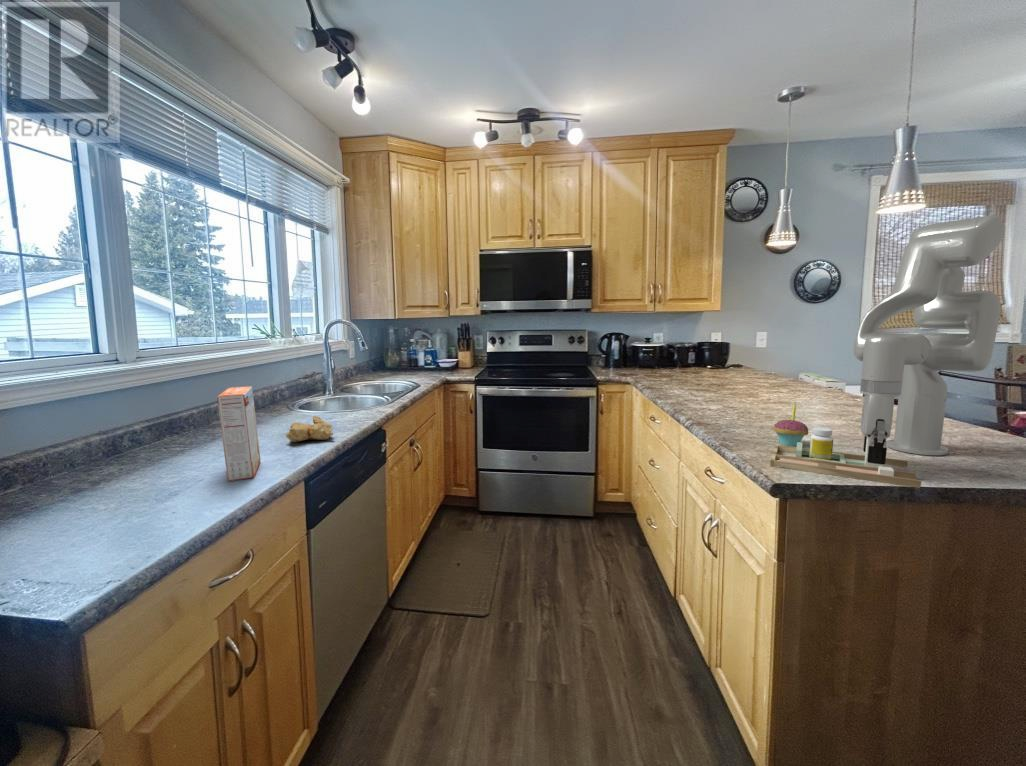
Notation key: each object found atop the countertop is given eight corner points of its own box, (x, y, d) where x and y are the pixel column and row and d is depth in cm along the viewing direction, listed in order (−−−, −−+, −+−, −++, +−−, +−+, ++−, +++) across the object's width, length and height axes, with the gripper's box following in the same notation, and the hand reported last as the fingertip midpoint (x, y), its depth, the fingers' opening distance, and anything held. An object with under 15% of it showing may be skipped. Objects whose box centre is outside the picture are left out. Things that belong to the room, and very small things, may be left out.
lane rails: (774, 449, 123) (775, 444, 123) (907, 466, 108) (907, 460, 108) (770, 466, 110) (770, 460, 110) (920, 487, 95) (921, 481, 94)
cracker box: (235, 465, 117) (227, 387, 115) (261, 462, 120) (253, 385, 117) (225, 482, 105) (215, 395, 102) (254, 478, 107) (245, 393, 104)
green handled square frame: (796, 452, 120) (798, 427, 119) (878, 463, 110) (881, 435, 109) (795, 461, 112) (797, 434, 112) (883, 473, 103) (886, 444, 102)
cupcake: (778, 438, 135) (781, 399, 133) (811, 444, 128) (814, 403, 127) (768, 444, 129) (771, 403, 127) (802, 450, 123) (805, 407, 121)
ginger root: (328, 441, 135) (320, 416, 134) (277, 455, 134) (269, 430, 134) (346, 431, 150) (339, 408, 149) (300, 443, 150) (293, 420, 149)
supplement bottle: (835, 464, 110) (838, 431, 109) (813, 463, 111) (816, 430, 110) (825, 458, 115) (828, 427, 114) (805, 457, 116) (808, 426, 115)
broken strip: (779, 461, 113) (780, 452, 113) (890, 477, 101) (891, 466, 101) (778, 466, 110) (779, 456, 109) (893, 482, 98) (894, 472, 98)
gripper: (857, 382, 114) (851, 447, 116) (864, 391, 100) (857, 465, 102) (895, 384, 110) (888, 451, 112) (908, 394, 96) (899, 470, 98)
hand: (873, 457), depth 107 cm, fingers open, 9 cm apart
